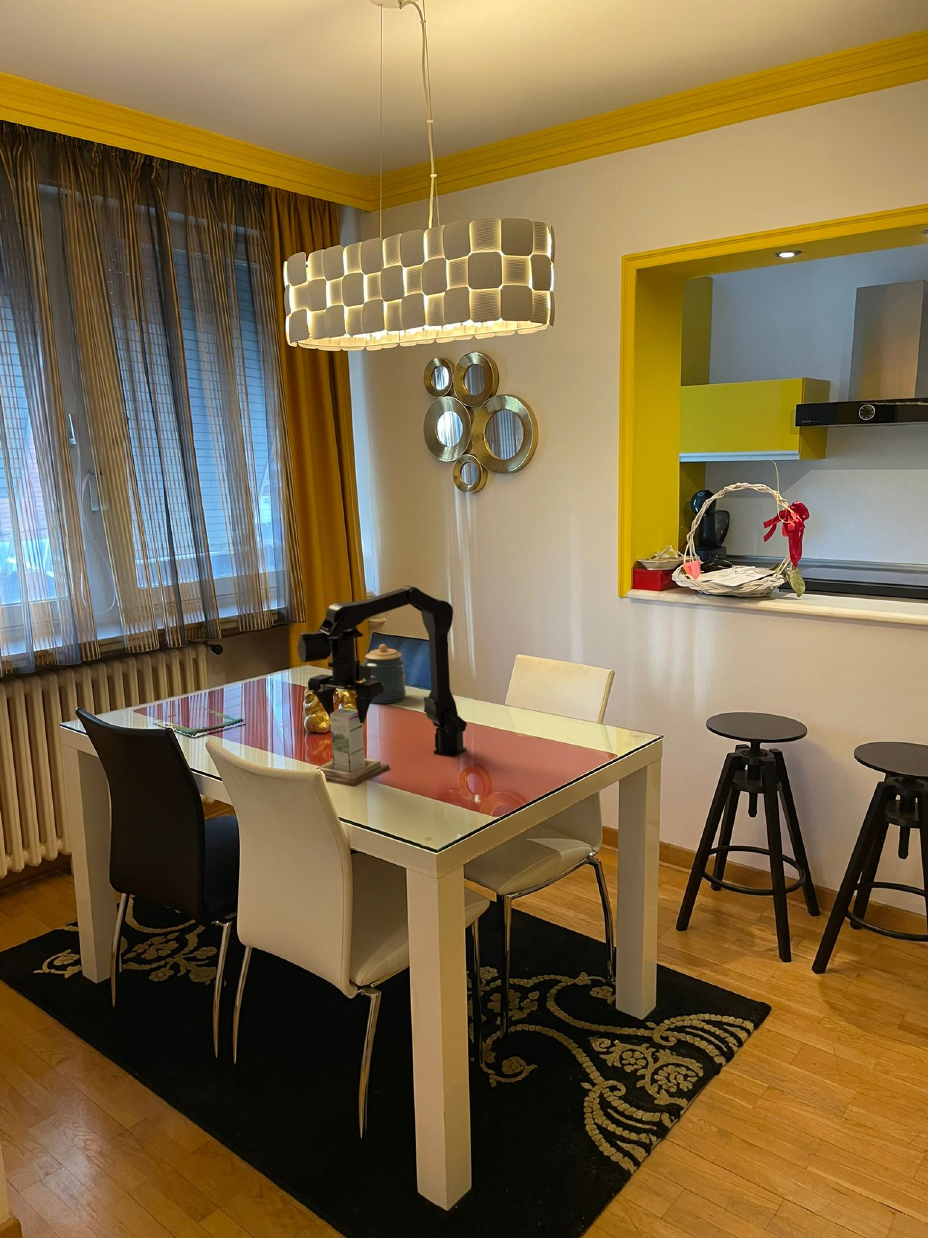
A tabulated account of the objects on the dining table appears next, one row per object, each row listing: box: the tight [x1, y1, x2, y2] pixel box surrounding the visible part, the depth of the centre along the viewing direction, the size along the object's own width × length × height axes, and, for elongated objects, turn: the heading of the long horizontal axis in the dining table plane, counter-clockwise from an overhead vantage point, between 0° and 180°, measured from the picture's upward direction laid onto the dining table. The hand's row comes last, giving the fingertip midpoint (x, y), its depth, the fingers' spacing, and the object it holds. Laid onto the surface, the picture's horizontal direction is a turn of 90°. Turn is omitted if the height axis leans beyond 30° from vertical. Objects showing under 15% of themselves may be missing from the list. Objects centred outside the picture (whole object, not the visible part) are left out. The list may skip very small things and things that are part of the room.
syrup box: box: [329, 707, 366, 773], centre depth 220 cm, size 6×6×14 cm
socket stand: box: [315, 758, 390, 787], centre depth 221 cm, size 14×14×2 cm
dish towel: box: [154, 707, 245, 736], centre depth 267 cm, size 17×23×2 cm
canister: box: [362, 643, 407, 705], centre depth 287 cm, size 13×13×18 cm
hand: (346, 720), depth 219 cm, fingers open, 9 cm apart
